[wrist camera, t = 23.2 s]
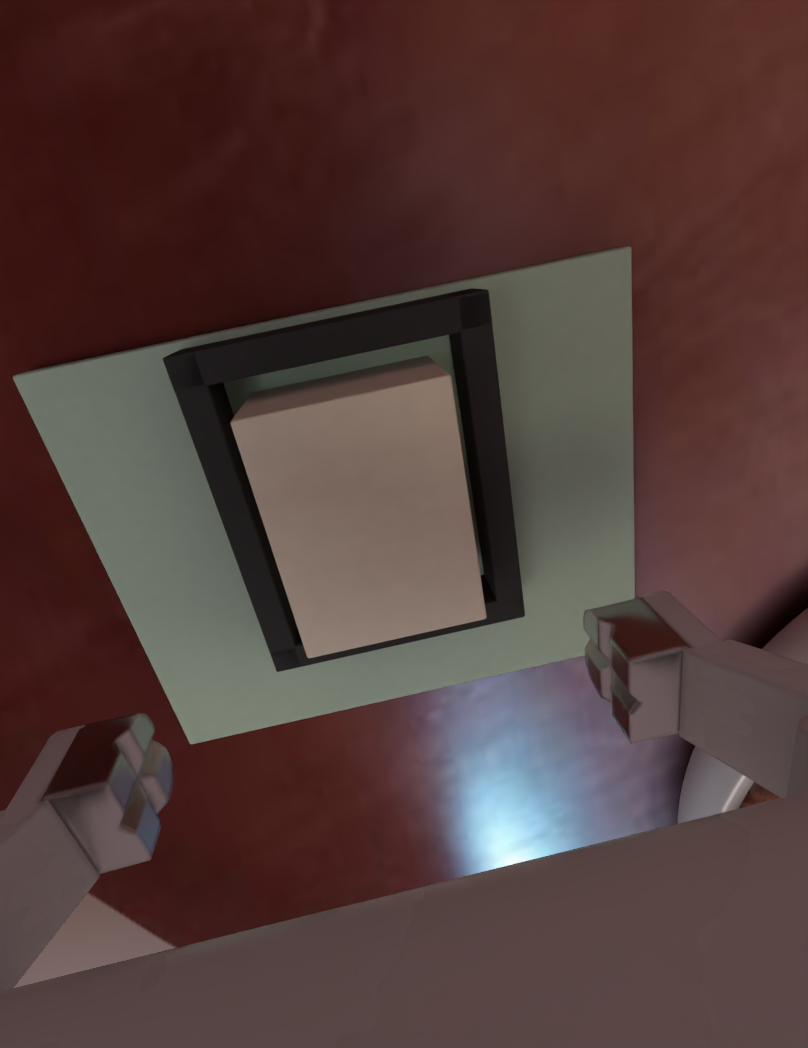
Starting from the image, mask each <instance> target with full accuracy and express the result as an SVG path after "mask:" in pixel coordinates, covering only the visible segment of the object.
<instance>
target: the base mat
mask: <svg viewBox="0 0 808 1048" xmlns="http://www.w3.org/2000/svg"><path fill="white" fill-rule="evenodd" d="M422 356H429V357H430V358H431V359H432V360H433V361H435V362H436V363H437V364H438V365H439V366H440V367H441V368H443V369H444V370H445V371H446V372H447V373H448V374H449V375H450V376H451V380H452V387H453V394H454V400H455V407H456V414H457V421H458V427H459V434H460V441H461V448H462V454H463V461H464V468H465V474H466V481H467V488H468V495H469V501H470V508H471V515H472V522H473V528H474V535H475V542H476V549H477V555H478V562H479V569H480V576H481V582H482V589H483V596H484V603H485V609H486V616H487V617H486V619H483V620H479V621H474V622H470V623H465V624H461V625H457V626H452V627H448V628H443V629H439V630H434V631H430V632H425V633H421V634H416V635H412V636H407V637H403V638H398V639H394V640H389V641H385V642H380V643H376V644H371V645H367V646H362V647H358V648H354V649H349V650H345V651H340V652H336V653H331V654H327V655H322V656H318V657H313V658H308V657H307V655H306V652H305V649H304V646H303V643H302V640H301V637H300V634H299V631H298V628H297V625H296V622H295V619H294V615H293V612H292V609H291V606H290V603H289V600H288V597H287V594H286V591H285V588H284V585H283V582H282V579H281V576H280V573H279V570H278V567H277V564H276V561H275V558H274V555H273V552H272V549H271V546H270V542H269V539H268V536H267V533H266V530H265V527H264V524H263V521H262V518H261V515H260V512H259V509H258V506H257V503H256V500H255V497H254V494H253V491H252V488H251V485H250V482H249V479H248V476H247V473H246V470H245V466H244V463H243V460H242V457H241V454H240V451H239V448H238V445H237V442H236V439H235V436H234V433H233V430H232V427H231V424H230V423H231V421H232V419H233V418H234V416H235V415H236V414H237V412H238V411H239V410H240V408H241V407H242V405H243V404H244V403H245V401H246V400H247V398H248V397H249V396H250V394H251V393H253V392H257V391H262V390H267V389H271V388H276V387H281V386H285V385H290V384H295V383H300V382H304V381H309V380H314V379H319V378H323V377H328V376H333V375H337V374H342V373H347V372H352V371H356V370H361V369H366V368H370V367H375V366H380V365H385V364H389V363H394V362H399V361H404V360H408V359H413V358H418V357H422ZM13 380H14V382H15V384H16V386H17V388H18V390H19V392H20V394H21V396H22V398H23V400H24V402H25V404H26V406H27V408H28V410H29V413H30V415H31V417H32V419H33V421H34V423H35V425H36V427H37V429H38V431H39V433H40V435H41V437H42V439H43V441H44V443H45V446H46V448H47V450H48V452H49V454H50V456H51V458H52V460H53V462H54V464H55V466H56V468H57V470H58V472H59V474H60V476H61V479H62V481H63V483H64V485H65V487H66V489H67V491H68V493H69V495H70V497H71V499H72V501H73V503H74V505H75V507H76V509H77V512H78V514H79V516H80V518H81V520H82V522H83V524H84V526H85V528H86V530H87V532H88V534H89V536H90V538H91V540H92V543H93V545H94V547H95V549H96V551H97V553H98V555H99V557H100V559H101V561H102V563H103V565H104V567H105V569H106V571H107V573H108V576H109V578H110V580H111V582H112V584H113V586H114V588H115V590H116V592H117V594H118V596H119V598H120V600H121V602H122V604H123V606H124V609H125V611H126V613H127V615H128V617H129V619H130V621H131V623H132V625H133V627H134V629H135V631H136V633H137V635H138V637H139V639H140V642H141V644H142V646H143V648H144V650H145V652H146V654H147V656H148V658H149V660H150V662H151V664H152V666H153V668H154V670H155V672H156V675H157V677H158V679H159V681H160V683H161V685H162V687H163V689H164V691H165V693H166V695H167V697H168V699H169V701H170V703H171V705H172V708H173V710H174V712H175V714H176V716H177V718H178V720H179V722H180V724H181V726H182V728H183V730H184V732H185V734H186V736H187V738H188V741H189V743H190V744H195V743H199V742H204V741H208V740H213V739H217V738H221V737H226V736H230V735H235V734H239V733H244V732H248V731H252V730H257V729H261V728H266V727H270V726H275V725H279V724H283V723H288V722H292V721H297V720H301V719H305V718H310V717H314V716H319V715H323V714H328V713H332V712H336V711H341V710H345V709H350V708H354V707H358V706H363V705H367V704H372V703H376V702H381V701H385V700H389V699H394V698H398V697H403V696H407V695H412V694H416V693H420V692H425V691H429V690H434V689H438V688H442V687H447V686H451V685H456V684H460V683H465V682H469V681H473V680H478V679H482V678H487V677H491V676H496V675H500V674H504V673H509V672H513V671H518V670H522V669H526V668H531V667H535V666H540V665H544V664H549V663H553V662H557V661H562V660H566V659H571V658H575V657H580V656H584V655H585V646H586V645H587V643H588V642H589V640H590V637H589V636H588V634H587V633H586V632H585V630H584V629H583V615H584V611H585V610H588V609H592V608H596V607H601V606H605V605H609V604H613V603H618V602H622V601H626V600H630V599H635V556H634V455H633V354H632V254H631V247H629V246H628V247H618V248H613V249H608V250H603V251H598V252H594V253H589V254H584V255H579V256H574V257H570V258H565V259H560V260H555V261H551V262H546V263H541V264H536V265H532V266H527V267H522V268H517V269H512V270H508V271H503V272H498V273H493V274H489V275H484V276H479V277H474V278H470V279H465V280H460V281H455V282H450V283H446V284H441V285H436V286H431V287H427V288H422V289H417V290H412V291H408V292H403V293H398V294H393V295H388V296H384V297H379V298H374V299H369V300H365V301H360V302H355V303H350V304H346V305H341V306H336V307H331V308H326V309H322V310H317V311H312V312H307V313H303V314H298V315H293V316H288V317H284V318H279V319H274V320H269V321H264V322H260V323H255V324H250V325H245V326H241V327H236V328H231V329H226V330H222V331H217V332H212V333H207V334H202V335H198V336H193V337H188V338H183V339H179V340H174V341H169V342H164V343H160V344H155V345H150V346H145V347H140V348H136V349H131V350H126V351H121V352H117V353H112V354H107V355H102V356H98V357H93V358H88V359H83V360H78V361H74V362H69V363H64V364H59V365H55V366H50V367H45V368H40V369H36V370H31V371H27V372H23V373H20V374H17V375H14V376H13Z"/></svg>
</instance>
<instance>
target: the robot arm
mask: <svg viewBox="0 0 808 1048" xmlns="http://www.w3.org/2000/svg"><path fill="white" fill-rule="evenodd" d="M583 629H584V630H585V632H586V633H587V634H588V636H589V637H590V640H589V642H588V643H587V645H586V646H585V659H586V665H587V669H588V672H589V676H590V679H591V681H592V683H593V685H594V687H595V689H596V691H597V692H598V694H599V695H600V697H601V698H603V699H605V700H607V701H609V702H611V703H612V716H613V717H614V719H615V720H616V722H617V723H618V725H619V726H620V728H621V729H622V731H623V733H624V734H625V736H626V737H627V739H628V740H629V742H630V743H631V744H633V743H638V742H642V741H647V740H652V739H656V738H661V737H666V736H671V735H675V734H679V736H680V737H681V738H683V739H685V740H686V741H688V742H690V743H691V744H693V745H695V746H696V747H698V748H700V749H701V750H703V751H705V752H706V753H708V754H709V755H711V756H713V757H714V758H716V759H718V760H719V761H721V762H723V763H724V764H726V765H728V766H729V767H731V768H732V769H734V770H736V771H737V772H739V773H741V774H742V775H744V776H746V777H747V778H749V779H751V780H752V781H754V782H756V783H757V784H759V785H760V786H762V787H764V788H765V789H767V790H769V791H770V792H772V793H774V794H775V795H777V796H779V797H780V798H779V799H775V800H771V801H767V802H763V803H759V804H755V805H751V806H747V807H743V808H739V809H735V810H731V811H727V812H723V813H719V814H715V815H711V816H707V817H703V818H699V819H695V820H691V821H687V822H683V823H678V824H674V825H670V826H666V827H662V828H658V829H654V830H650V831H646V832H642V833H638V834H634V835H630V836H626V837H622V838H618V839H614V840H610V841H606V842H602V843H598V844H594V845H590V846H586V847H581V848H577V849H573V850H569V851H565V852H561V853H557V854H553V855H549V856H545V857H541V858H537V859H533V860H529V861H525V862H521V863H517V864H513V865H509V866H505V867H501V868H497V869H493V870H489V871H485V872H481V873H477V874H473V875H469V876H464V877H460V878H456V879H452V880H448V881H444V882H440V883H436V884H432V885H428V886H424V887H420V888H416V889H412V890H408V891H404V892H400V893H396V894H392V895H388V896H384V897H380V898H376V899H372V900H368V901H364V902H360V903H356V904H352V905H347V906H343V907H339V908H335V909H331V910H327V911H323V912H319V913H315V914H311V915H307V916H303V917H299V918H295V919H291V920H287V921H283V922H279V923H275V924H271V925H267V926H263V927H259V928H255V929H251V930H247V931H243V932H239V933H234V934H230V935H226V936H222V937H218V938H214V939H210V940H206V941H202V942H198V943H194V944H190V945H186V946H182V947H178V948H174V949H170V950H166V951H162V952H158V953H154V954H150V955H146V956H142V957H138V958H134V959H130V960H126V961H122V962H118V963H114V964H110V965H105V966H101V967H98V968H93V969H89V970H85V971H81V972H77V973H73V974H69V975H65V976H61V977H57V978H53V979H49V980H45V981H41V982H37V983H33V984H29V985H25V986H21V987H17V988H14V987H15V985H16V984H17V983H18V981H19V980H20V979H21V977H22V976H23V975H24V973H25V972H26V971H27V970H28V968H29V967H30V966H31V965H32V963H33V962H34V961H35V960H36V958H37V957H38V955H39V954H40V953H41V952H42V951H43V949H44V948H45V947H46V945H47V944H48V943H49V942H50V940H51V939H52V938H53V936H54V935H55V934H56V933H57V931H58V930H59V929H60V927H61V926H62V925H63V923H64V922H65V921H66V920H67V918H68V917H69V916H70V914H71V913H72V912H73V911H74V909H75V908H76V907H77V906H78V904H79V903H80V901H81V900H82V899H83V898H84V896H85V895H86V894H87V893H88V891H89V890H90V889H91V888H92V886H93V885H94V884H95V882H96V881H97V880H98V879H99V877H100V875H99V874H101V873H105V872H108V871H112V870H116V869H119V868H123V867H127V866H130V865H134V864H138V863H141V862H145V861H149V860H151V857H152V853H153V850H154V847H155V844H156V840H157V837H158V834H159V831H160V827H161V824H162V823H161V821H160V820H159V818H158V816H157V813H158V812H159V811H160V809H161V808H162V807H163V806H164V805H165V804H166V803H167V802H168V801H169V797H170V794H171V790H172V786H173V767H172V763H171V759H170V756H169V754H168V752H167V750H166V748H165V746H163V745H161V744H160V743H158V742H156V741H154V740H152V737H153V734H154V732H155V729H156V728H155V726H154V725H153V723H152V721H151V719H150V718H149V716H148V715H146V714H143V713H138V714H133V715H128V716H124V717H119V718H114V719H109V720H105V721H100V722H95V723H90V724H87V725H82V726H77V727H73V728H68V729H64V730H59V731H58V732H56V733H54V734H53V735H51V736H50V738H49V740H48V741H47V743H46V745H45V746H44V748H43V749H42V751H41V753H40V754H39V756H38V758H37V759H36V761H35V763H34V764H33V766H32V768H31V769H30V771H29V773H28V774H27V776H26V778H25V779H24V781H23V783H22V784H21V786H20V787H19V789H18V791H17V792H16V794H15V796H14V797H13V799H12V801H11V802H10V804H9V806H8V807H7V809H6V810H4V811H0V1048H808V665H807V664H804V663H801V662H798V661H795V660H792V659H789V658H786V657H783V656H780V655H777V654H774V653H771V652H768V651H765V650H762V649H759V648H756V647H753V646H750V645H747V644H744V643H741V642H738V641H735V640H732V639H728V640H723V641H721V640H720V639H719V638H718V637H717V636H716V635H715V634H714V633H713V632H712V631H711V630H709V629H708V628H707V627H706V626H705V625H704V624H703V623H702V622H701V621H700V620H699V619H697V618H696V617H695V616H694V615H693V614H692V613H691V612H690V611H689V610H688V609H687V608H686V607H684V606H683V605H682V604H681V603H680V602H679V601H678V600H677V599H676V598H675V597H674V596H672V595H671V594H670V593H669V592H667V591H664V590H662V591H658V592H654V593H650V594H647V595H643V596H639V597H637V598H635V599H630V600H626V601H622V602H618V603H613V604H609V605H605V606H601V607H596V608H592V609H588V610H585V611H584V615H583Z"/></svg>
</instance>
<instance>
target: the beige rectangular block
mask: <svg viewBox="0 0 808 1048" xmlns="http://www.w3.org/2000/svg"><path fill="white" fill-rule="evenodd" d="M230 424H231V427H232V430H233V433H234V436H235V439H236V442H237V445H238V448H239V451H240V454H241V457H242V460H243V463H244V466H245V470H246V473H247V476H248V479H249V482H250V485H251V488H252V491H253V494H254V497H255V500H256V503H257V506H258V509H259V512H260V515H261V518H262V521H263V524H264V527H265V530H266V533H267V536H268V539H269V542H270V546H271V549H272V552H273V555H274V558H275V561H276V564H277V567H278V570H279V573H280V576H281V579H282V582H283V585H284V588H285V591H286V594H287V597H288V600H289V603H290V606H291V609H292V612H293V615H294V619H295V622H296V625H297V628H298V631H299V634H300V637H301V640H302V643H303V646H304V649H305V652H306V655H307V657H308V658H313V657H318V656H322V655H327V654H331V653H336V652H340V651H345V650H349V649H354V648H358V647H362V646H367V645H371V644H376V643H380V642H385V641H389V640H394V639H398V638H403V637H407V636H412V635H416V634H421V633H425V632H430V631H434V630H439V629H443V628H448V627H452V626H457V625H461V624H465V623H470V622H474V621H479V620H483V619H486V617H487V616H486V609H485V603H484V596H483V589H482V582H481V576H480V569H479V562H478V555H477V549H476V542H475V535H474V528H473V522H472V515H471V508H470V501H469V495H468V488H467V481H466V474H465V468H464V461H463V454H462V448H461V441H460V434H459V427H458V421H457V414H456V407H455V400H454V394H453V387H452V380H451V376H450V375H449V374H448V373H447V372H446V371H445V370H444V369H443V368H441V367H440V366H439V365H438V364H437V363H436V362H435V361H433V360H432V359H431V358H430V357H429V356H422V357H418V358H413V359H408V360H404V361H399V362H394V363H389V364H385V365H380V366H375V367H370V368H366V369H361V370H356V371H352V372H347V373H342V374H337V375H333V376H328V377H323V378H319V379H314V380H309V381H304V382H300V383H295V384H290V385H285V386H281V387H276V388H271V389H267V390H262V391H257V392H253V393H251V394H250V396H249V397H248V398H247V400H246V401H245V403H244V404H243V405H242V407H241V408H240V410H239V411H238V412H237V414H236V415H235V416H234V418H233V419H232V421H231V423H230Z"/></svg>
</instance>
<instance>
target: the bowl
mask: <svg viewBox="0 0 808 1048" xmlns="http://www.w3.org/2000/svg"><path fill="white" fill-rule="evenodd" d="M762 650H765V651H768V652H771V653H774V654H777V655H780V656H783V657H786V658H789V659H792V660H795V661H798V662H801V663H804V664H807V665H808V608H807V609H805V610H804V611H803V612H802V613H801V614H799V615H798V616H797V617H796V618H794V619H793V620H792V621H791V622H790V623H789V624H788V625H786V626H785V627H784V628H783V629H782V630H781V631H780V632H779V633H778V634H777V635H775V636H774V637H773V638H772V639H771V640H770V641H769V642H768V643H767V644H766V645H765V646H764V647H763V648H762ZM779 798H780V797H779V796H777V795H775V794H774V793H772V792H770V791H769V790H767V789H765V788H764V787H762V786H760V785H759V784H757V783H756V782H754V781H752V780H751V779H749V778H747V777H746V776H744V775H742V774H741V773H739V772H737V771H736V770H734V769H732V768H731V767H729V766H728V765H726V764H724V763H723V762H721V761H719V760H718V759H716V758H714V757H713V756H711V755H709V754H708V753H706V752H705V751H703V750H701V749H700V748H698V747H696V746H695V748H694V750H693V752H692V755H691V758H690V761H689V763H688V766H687V770H686V773H685V777H684V780H683V784H682V789H681V795H680V801H679V809H678V823H683V822H687V821H691V820H695V819H699V818H703V817H707V816H711V815H715V814H719V813H723V812H727V811H731V810H735V809H739V808H743V807H747V806H751V805H755V804H759V803H763V802H767V801H771V800H775V799H779Z"/></svg>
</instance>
